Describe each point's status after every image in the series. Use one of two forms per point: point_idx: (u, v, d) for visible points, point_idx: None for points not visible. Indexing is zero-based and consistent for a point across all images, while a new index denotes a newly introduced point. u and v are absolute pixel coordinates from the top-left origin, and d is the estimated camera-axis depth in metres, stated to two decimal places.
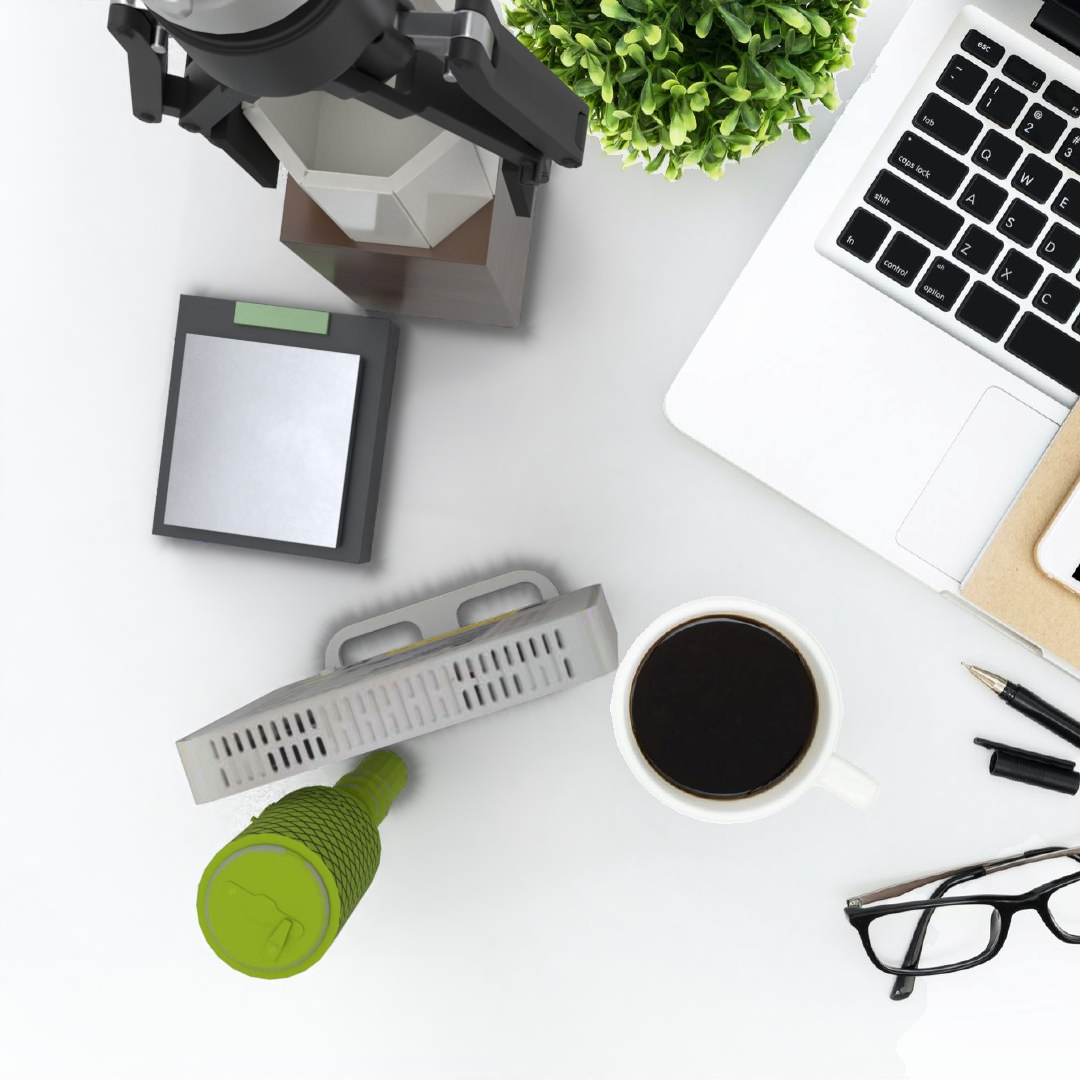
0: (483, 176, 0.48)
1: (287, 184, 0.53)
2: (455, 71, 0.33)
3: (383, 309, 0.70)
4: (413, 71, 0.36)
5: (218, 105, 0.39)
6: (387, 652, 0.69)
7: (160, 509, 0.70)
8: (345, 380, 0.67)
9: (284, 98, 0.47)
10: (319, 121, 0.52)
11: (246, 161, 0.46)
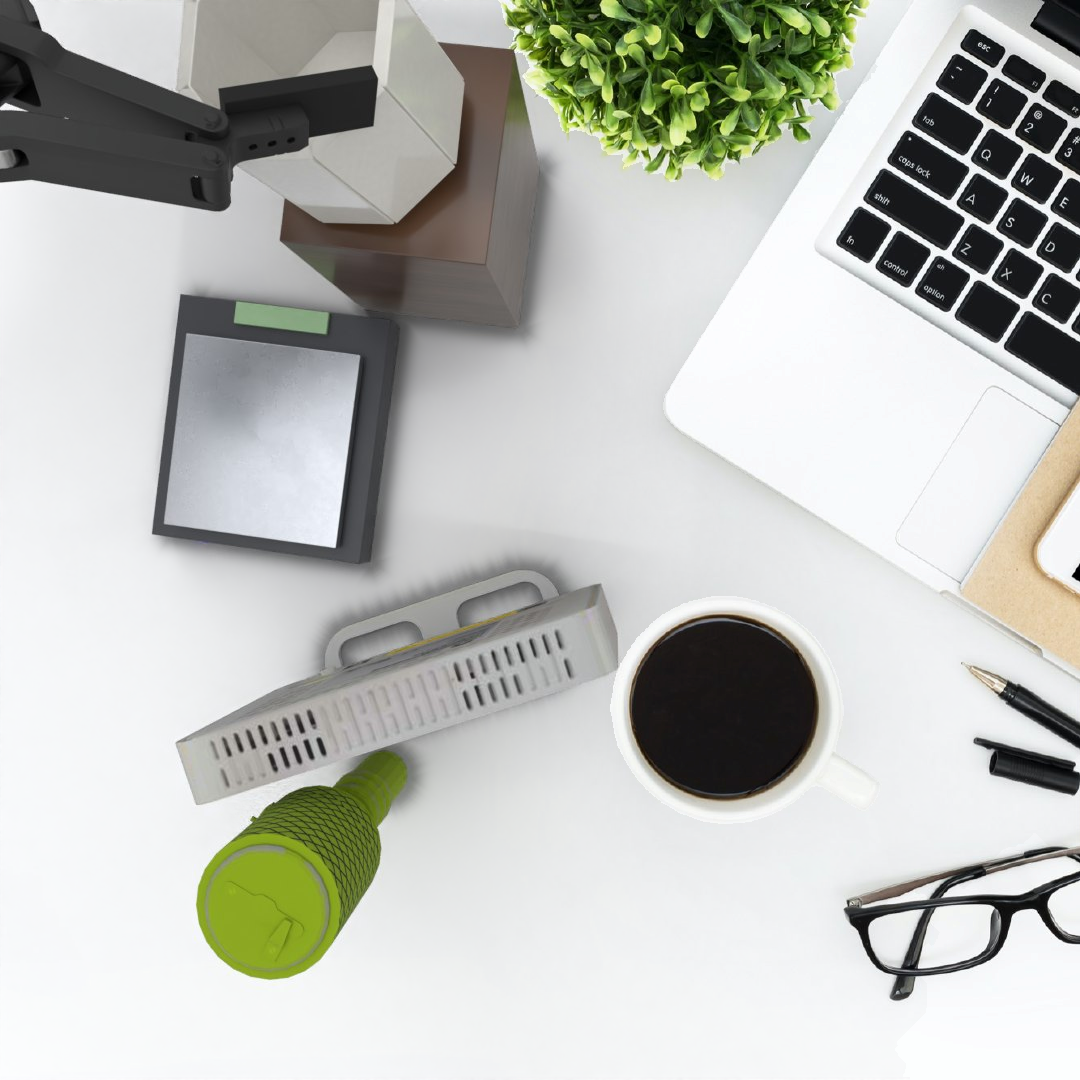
0: (429, 141, 0.47)
1: None
2: None
3: (383, 309, 0.70)
4: (37, 89, 0.37)
5: None
6: (387, 652, 0.69)
7: (160, 509, 0.70)
8: (345, 380, 0.67)
9: (231, 81, 0.47)
10: None
11: None
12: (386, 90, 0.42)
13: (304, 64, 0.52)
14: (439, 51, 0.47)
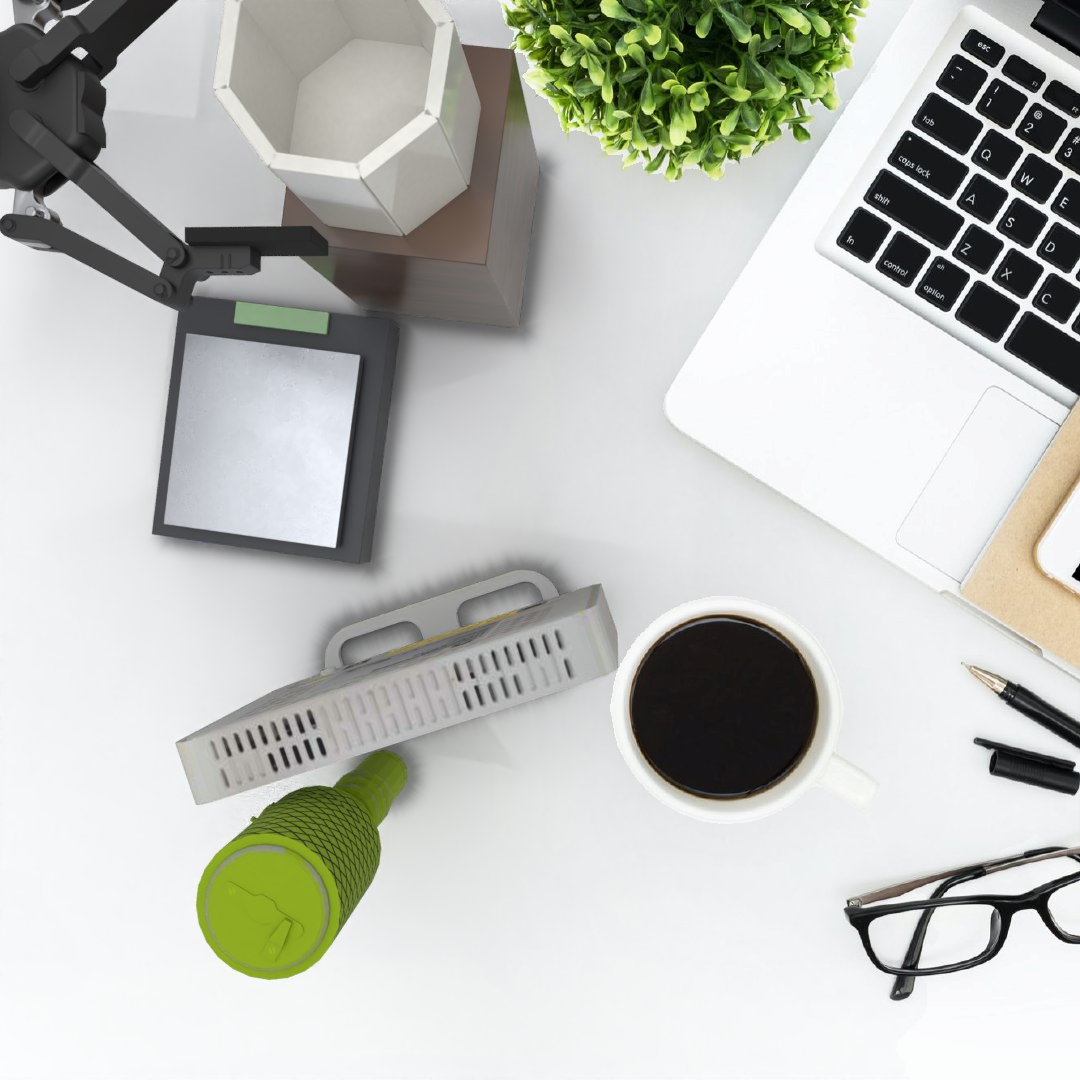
0: (455, 165, 0.49)
1: None
2: None
3: (383, 309, 0.70)
4: None
5: None
6: (387, 652, 0.69)
7: (160, 509, 0.70)
8: (345, 380, 0.67)
9: (258, 80, 0.47)
10: (296, 105, 0.52)
11: None
12: (438, 121, 0.43)
13: (318, 65, 0.52)
14: (470, 79, 0.48)
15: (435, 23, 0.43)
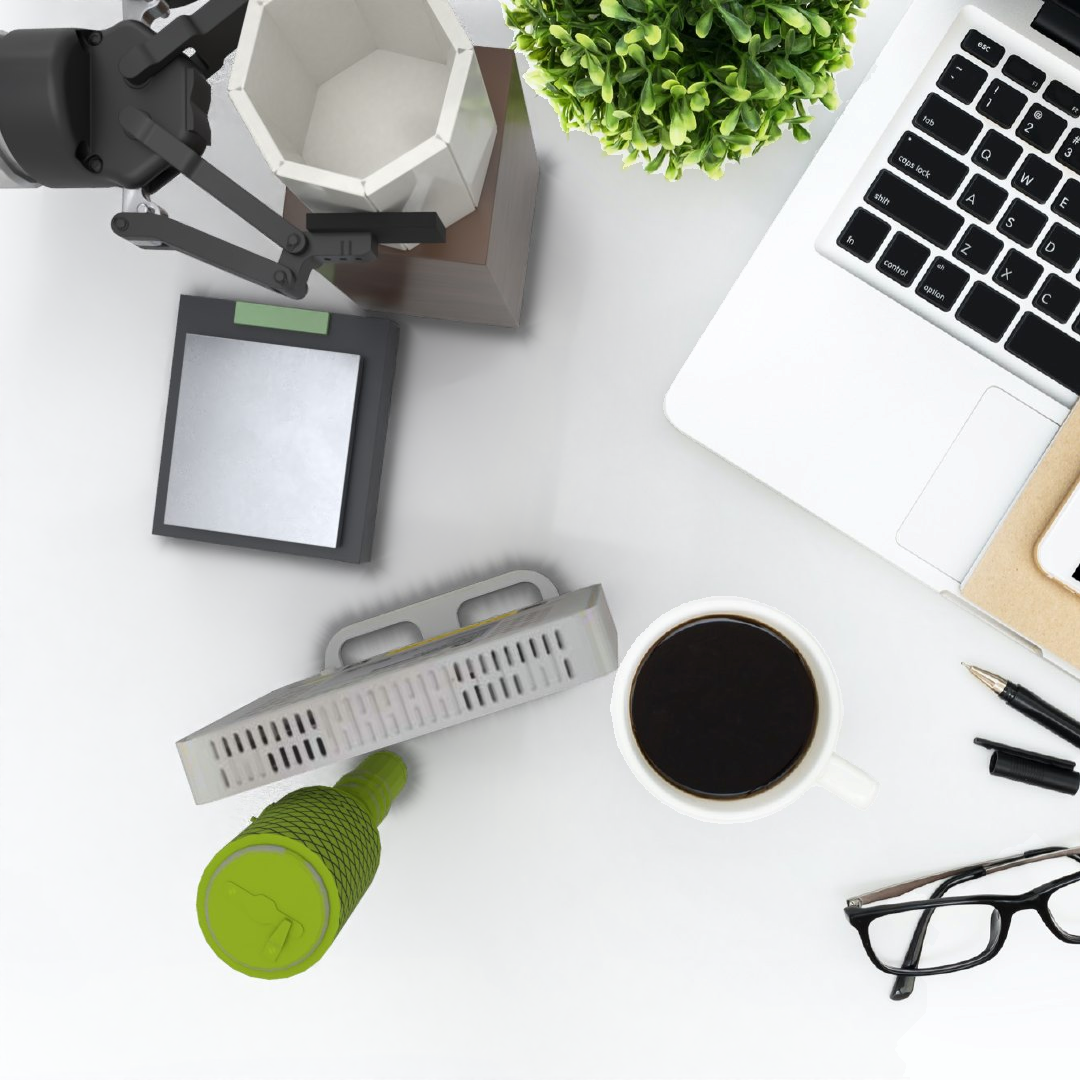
0: (464, 188, 0.49)
1: None
2: None
3: (383, 309, 0.70)
4: (190, 178, 0.48)
5: None
6: (387, 652, 0.69)
7: (160, 509, 0.70)
8: (345, 380, 0.67)
9: (275, 83, 0.47)
10: (313, 109, 0.52)
11: None
12: (447, 146, 0.43)
13: (339, 72, 0.52)
14: (488, 104, 0.48)
15: (455, 49, 0.43)
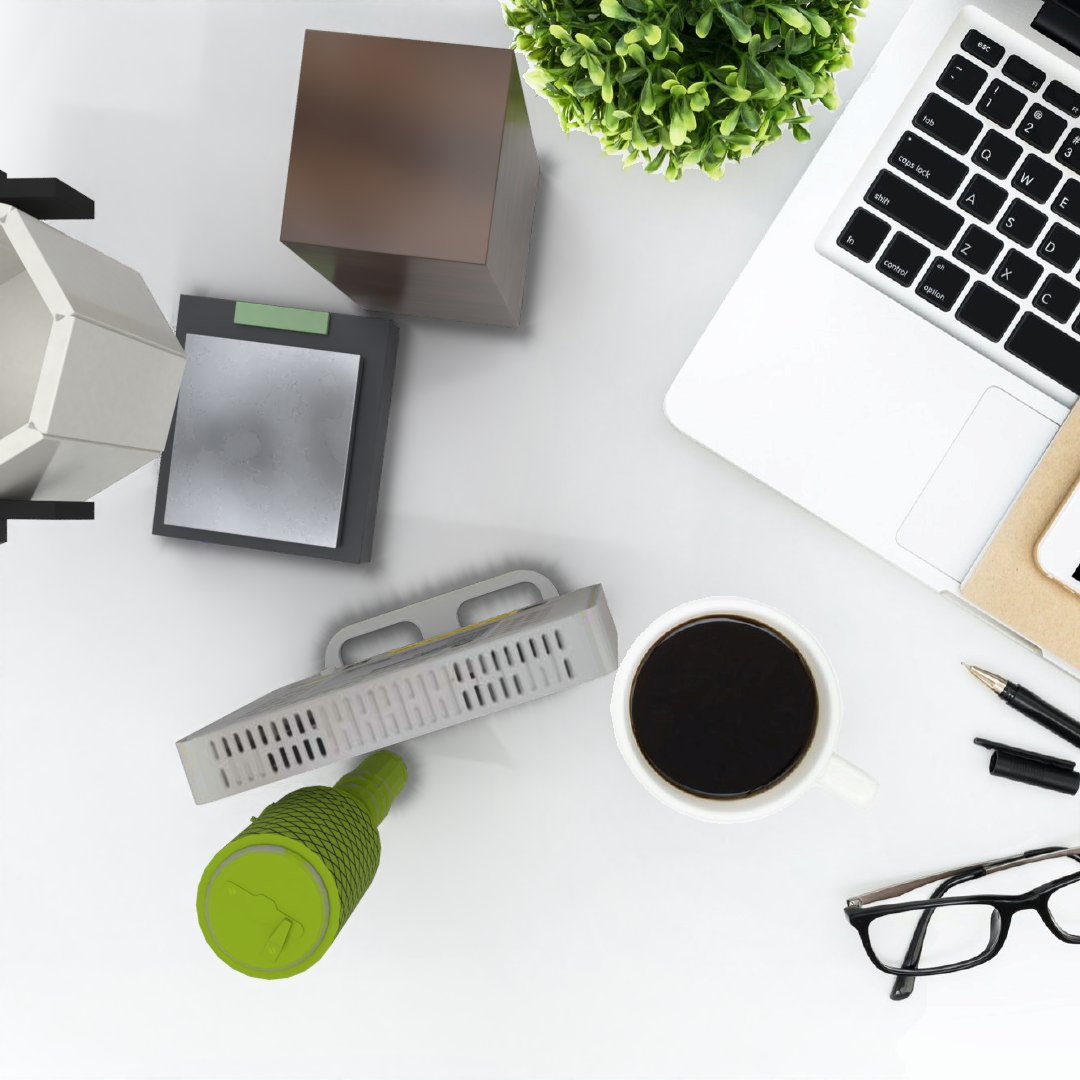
0: (119, 450, 0.39)
1: (287, 184, 0.53)
2: None
3: (383, 309, 0.70)
4: None
5: None
6: (387, 652, 0.69)
7: (160, 509, 0.70)
8: (345, 380, 0.67)
9: None
10: None
11: None
12: (47, 435, 0.34)
13: None
14: (146, 348, 0.39)
15: (52, 314, 0.34)
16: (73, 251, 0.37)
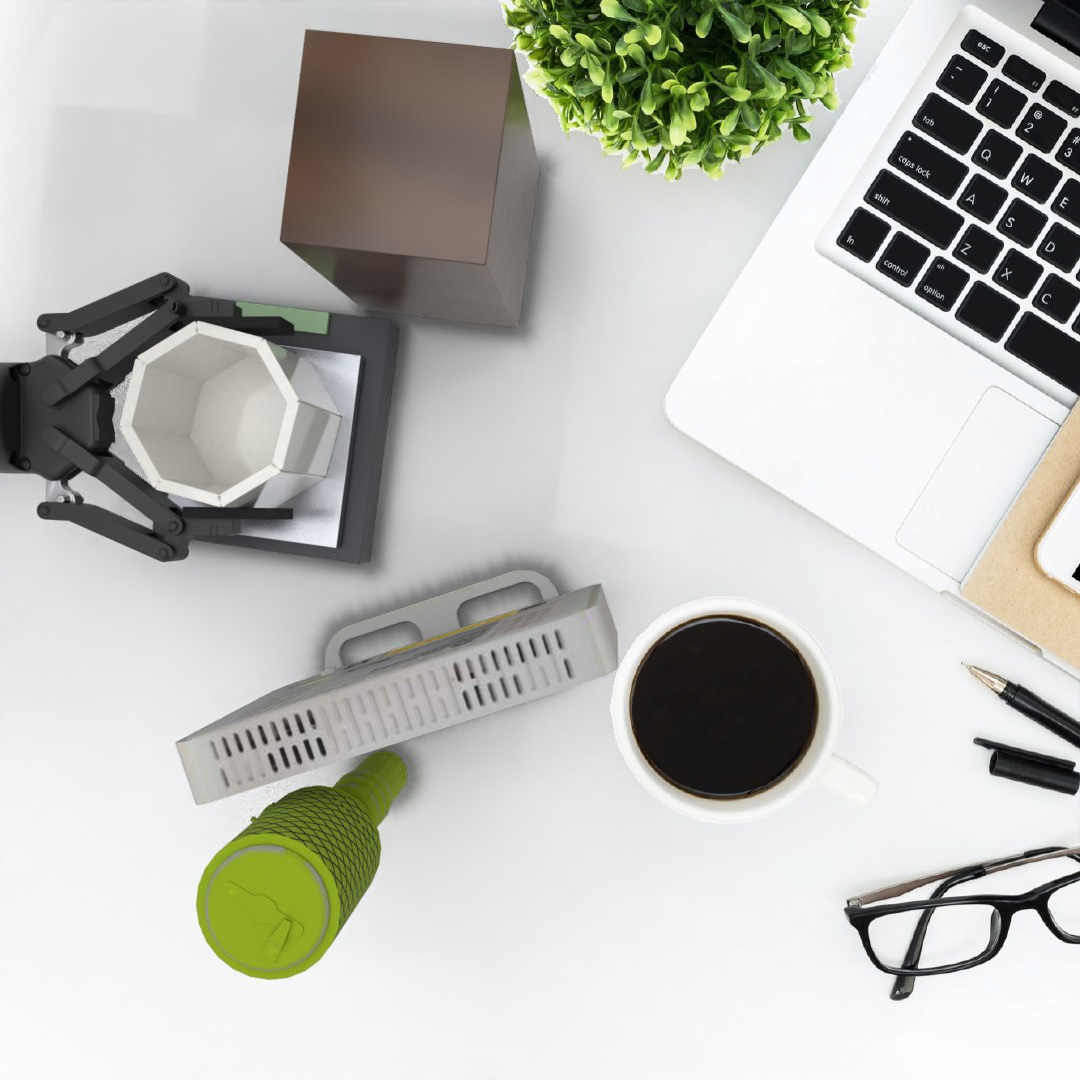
0: (307, 476, 0.64)
1: (287, 184, 0.53)
2: None
3: (383, 309, 0.70)
4: None
5: None
6: (387, 652, 0.69)
7: None
8: (346, 380, 0.67)
9: (160, 405, 0.62)
10: (199, 401, 0.67)
11: None
12: (281, 470, 0.59)
13: (218, 373, 0.67)
14: (324, 414, 0.63)
15: (286, 401, 0.58)
16: (287, 358, 0.61)
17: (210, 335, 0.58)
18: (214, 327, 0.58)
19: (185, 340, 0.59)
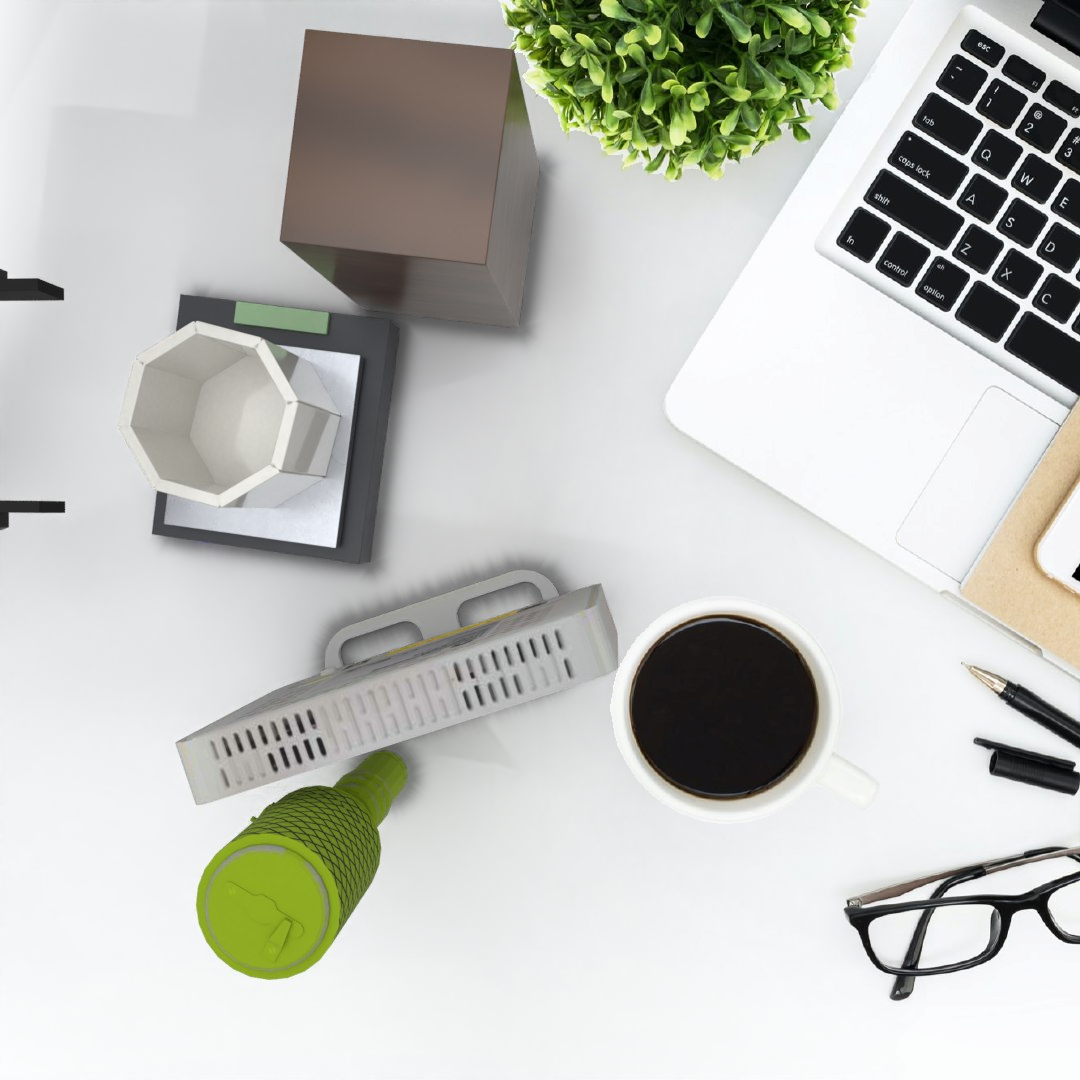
0: (307, 477, 0.64)
1: (287, 184, 0.53)
2: None
3: (383, 309, 0.70)
4: None
5: None
6: (387, 652, 0.69)
7: (160, 509, 0.70)
8: (345, 380, 0.67)
9: (160, 405, 0.62)
10: (198, 400, 0.67)
11: (7, 299, 0.60)
12: (280, 471, 0.58)
13: (217, 373, 0.67)
14: (324, 414, 0.63)
15: (285, 401, 0.58)
16: (287, 358, 0.61)
17: (209, 335, 0.58)
18: (213, 326, 0.58)
19: (184, 341, 0.59)
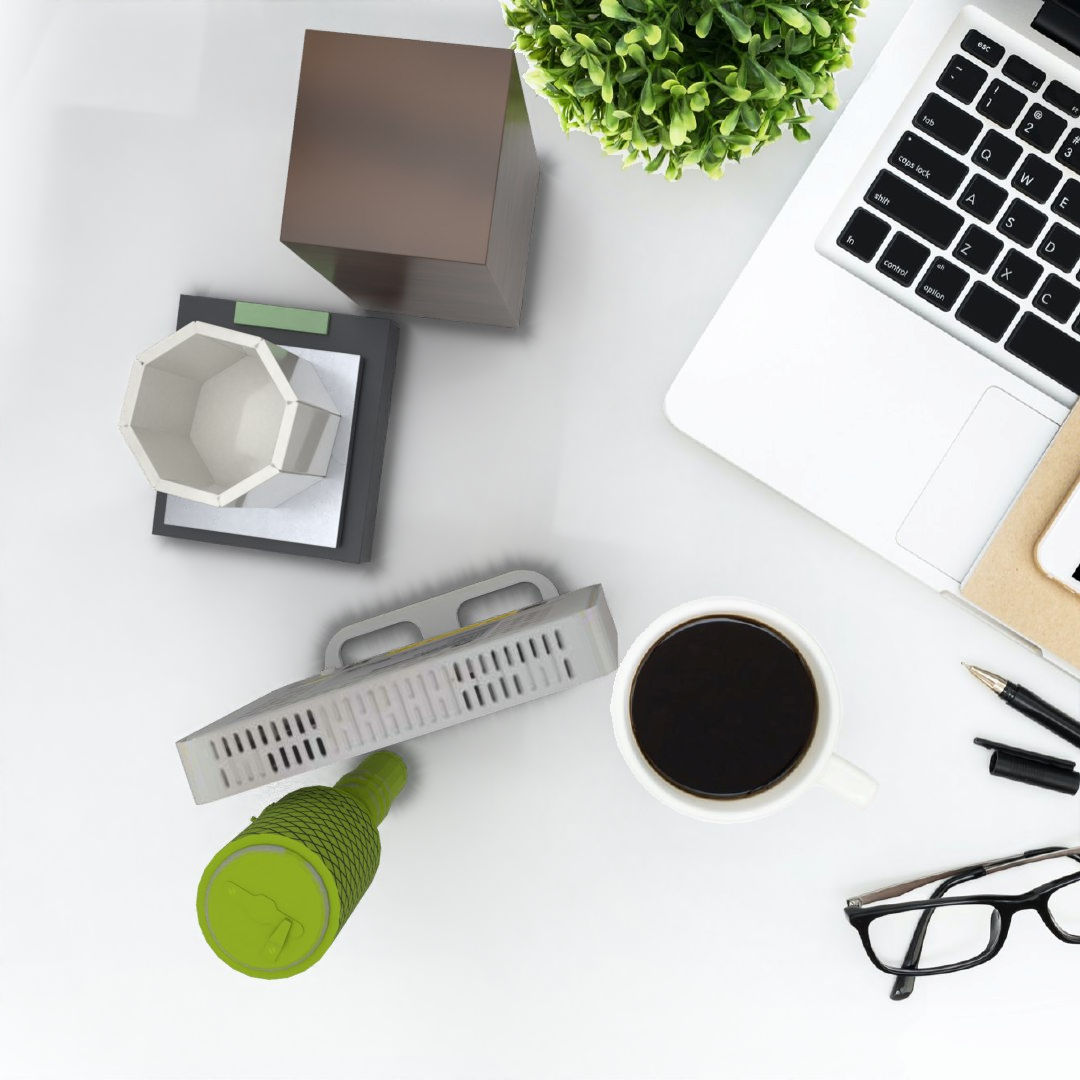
0: (307, 477, 0.64)
1: (287, 184, 0.53)
2: None
3: (383, 309, 0.70)
4: None
5: None
6: (387, 652, 0.69)
7: (160, 509, 0.70)
8: (345, 380, 0.67)
9: (160, 405, 0.62)
10: (198, 400, 0.67)
11: None
12: (280, 471, 0.58)
13: (217, 373, 0.67)
14: (324, 414, 0.63)
15: (285, 401, 0.58)
16: (287, 358, 0.61)
17: (209, 335, 0.58)
18: (213, 326, 0.58)
19: (184, 341, 0.59)
